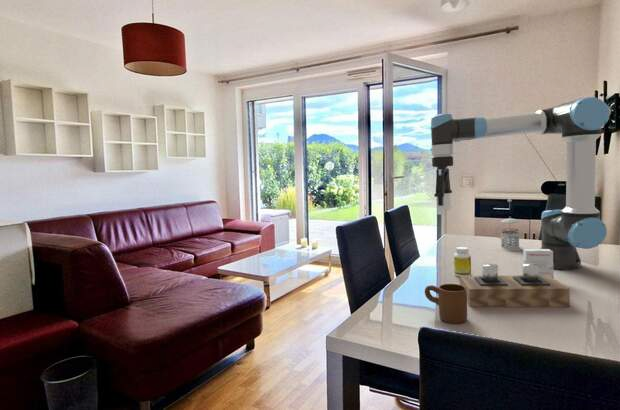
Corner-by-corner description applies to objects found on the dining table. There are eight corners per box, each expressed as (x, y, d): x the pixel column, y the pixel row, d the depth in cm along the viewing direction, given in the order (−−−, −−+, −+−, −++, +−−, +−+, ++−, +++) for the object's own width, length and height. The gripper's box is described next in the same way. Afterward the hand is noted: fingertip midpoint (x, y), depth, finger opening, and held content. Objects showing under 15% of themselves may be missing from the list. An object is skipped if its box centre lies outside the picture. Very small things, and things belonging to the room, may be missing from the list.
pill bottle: (472, 277, 144) (472, 249, 143) (456, 277, 146) (455, 249, 145) (469, 272, 151) (468, 246, 150) (453, 273, 152) (452, 246, 151)
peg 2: (535, 279, 120) (535, 262, 120) (541, 283, 116) (541, 266, 115) (520, 279, 121) (520, 262, 120) (525, 283, 117) (525, 266, 116)
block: (548, 291, 124) (548, 273, 124) (569, 306, 111) (569, 286, 110) (460, 291, 130) (459, 274, 129) (469, 306, 116) (469, 287, 115)
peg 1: (495, 279, 122) (495, 263, 122) (499, 283, 118) (499, 266, 118) (481, 279, 123) (480, 263, 123) (484, 283, 119) (484, 267, 118)
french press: (525, 250, 181) (525, 199, 179) (501, 251, 181) (500, 200, 179) (515, 246, 191) (514, 197, 189) (492, 247, 191) (491, 199, 189)
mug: (420, 318, 110) (419, 287, 109) (430, 309, 116) (429, 280, 115) (462, 326, 102) (461, 293, 101) (470, 317, 108) (469, 285, 107)
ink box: (549, 279, 136) (549, 248, 135) (553, 284, 131) (553, 251, 130) (523, 279, 139) (522, 248, 137) (526, 283, 134) (525, 251, 133)
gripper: (437, 157, 153) (439, 208, 155) (425, 156, 131) (427, 216, 133) (457, 155, 149) (458, 208, 151) (448, 155, 128) (449, 216, 129)
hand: (444, 212), depth 142 cm, fingers open, 13 cm apart
